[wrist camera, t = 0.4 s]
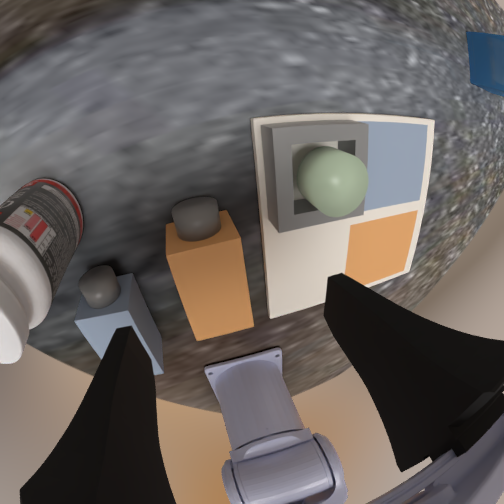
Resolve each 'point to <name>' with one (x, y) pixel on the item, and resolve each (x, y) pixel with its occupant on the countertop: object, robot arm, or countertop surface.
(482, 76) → the perfume bottle
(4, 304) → the pill bottle
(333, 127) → the button housing
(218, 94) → the countertop surface
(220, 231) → the orange marker
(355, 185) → the button
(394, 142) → the sheet
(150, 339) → the grey-capped blue block
